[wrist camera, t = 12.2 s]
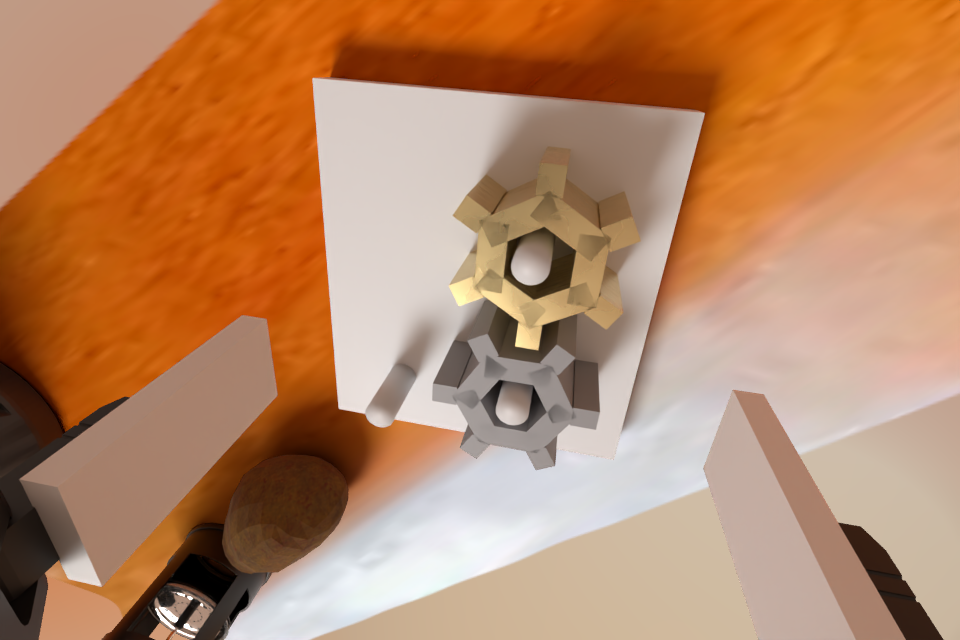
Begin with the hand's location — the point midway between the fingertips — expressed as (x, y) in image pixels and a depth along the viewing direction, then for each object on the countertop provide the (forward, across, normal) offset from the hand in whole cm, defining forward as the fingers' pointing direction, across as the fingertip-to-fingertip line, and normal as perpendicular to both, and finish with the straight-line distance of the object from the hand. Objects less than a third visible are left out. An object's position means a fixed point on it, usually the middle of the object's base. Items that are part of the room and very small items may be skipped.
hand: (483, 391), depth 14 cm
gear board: (+18, -2, -4) cm, 18 cm away
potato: (+18, -17, -25) cm, 35 cm away
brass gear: (+16, +1, 0) cm, 16 cm away
